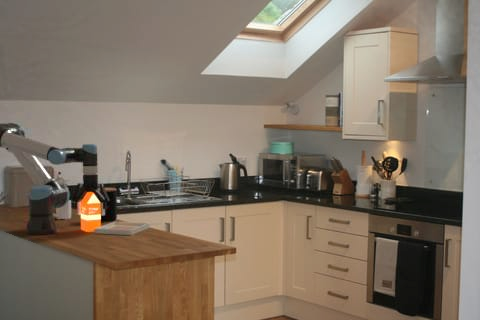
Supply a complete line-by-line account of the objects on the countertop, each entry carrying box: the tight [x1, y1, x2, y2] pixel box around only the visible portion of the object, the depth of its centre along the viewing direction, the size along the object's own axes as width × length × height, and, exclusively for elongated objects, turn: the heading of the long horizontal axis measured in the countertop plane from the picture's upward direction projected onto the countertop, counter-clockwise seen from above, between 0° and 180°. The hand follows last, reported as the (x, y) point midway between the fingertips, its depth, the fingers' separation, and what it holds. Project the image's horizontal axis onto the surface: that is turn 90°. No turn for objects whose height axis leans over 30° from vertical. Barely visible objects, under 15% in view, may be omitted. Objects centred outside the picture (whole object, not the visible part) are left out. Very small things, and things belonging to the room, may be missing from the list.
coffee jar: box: [96, 187, 118, 222], centre depth 392 cm, size 11×11×18 cm
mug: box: [53, 199, 72, 220], centre depth 397 cm, size 12×8×10 cm
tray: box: [93, 221, 150, 236], centre depth 360 cm, size 24×20×2 cm
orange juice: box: [80, 192, 102, 233], centre depth 359 cm, size 8×9×20 cm
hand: (91, 214), depth 359 cm, fingers open, 13 cm apart
